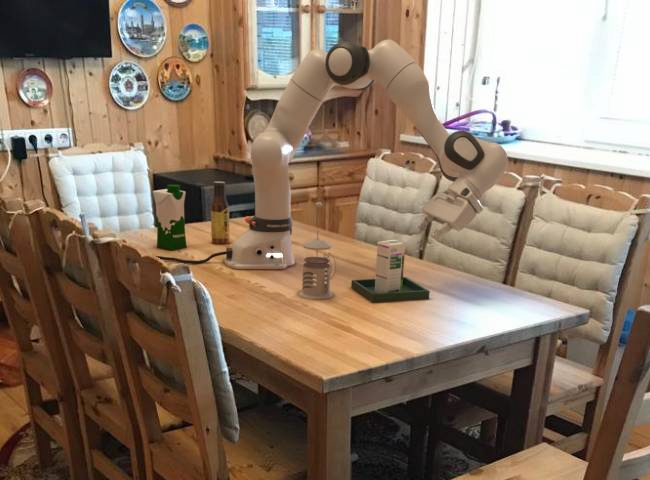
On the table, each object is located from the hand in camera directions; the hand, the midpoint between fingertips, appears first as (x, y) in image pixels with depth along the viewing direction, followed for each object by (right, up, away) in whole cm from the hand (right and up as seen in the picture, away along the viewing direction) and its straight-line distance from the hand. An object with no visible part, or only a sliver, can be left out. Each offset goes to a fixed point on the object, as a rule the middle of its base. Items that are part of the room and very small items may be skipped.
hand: (427, 233), depth 230 cm
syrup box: (-11, -16, +4) cm, 20 cm away
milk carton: (-81, +10, +45) cm, 93 cm away
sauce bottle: (-65, +14, +54) cm, 86 cm away
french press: (-31, -17, +1) cm, 36 cm away
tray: (-10, -16, +6) cm, 20 cm away
